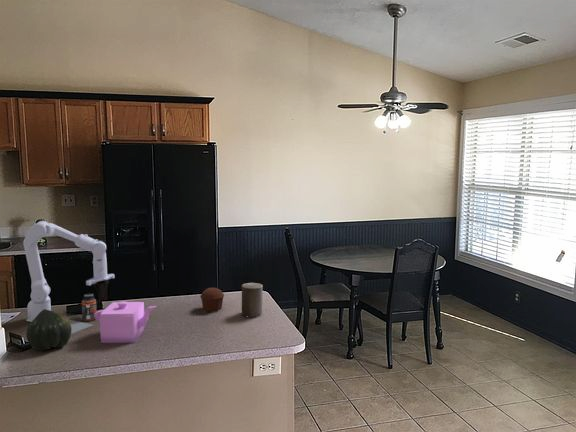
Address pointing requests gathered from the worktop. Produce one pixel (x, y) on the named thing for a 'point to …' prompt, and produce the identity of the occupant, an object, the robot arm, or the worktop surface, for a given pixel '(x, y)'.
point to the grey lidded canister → (252, 299)
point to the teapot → (122, 321)
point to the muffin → (212, 299)
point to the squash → (48, 330)
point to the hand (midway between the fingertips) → (101, 296)
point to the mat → (78, 326)
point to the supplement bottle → (88, 307)
